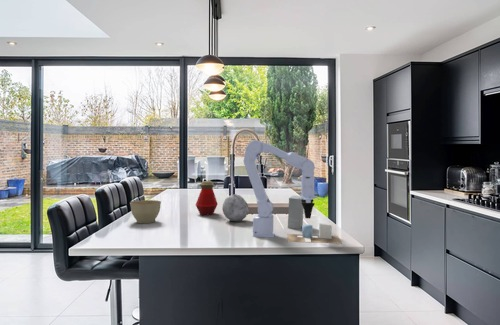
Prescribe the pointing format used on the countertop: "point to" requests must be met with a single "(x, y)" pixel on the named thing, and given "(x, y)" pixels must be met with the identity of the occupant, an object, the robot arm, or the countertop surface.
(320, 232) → the grey block
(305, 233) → the blue cylinder
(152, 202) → the planter bowl
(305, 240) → the letter T
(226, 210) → the decorative orb
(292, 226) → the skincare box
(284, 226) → the countertop surface
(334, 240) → the board
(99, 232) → the countertop surface
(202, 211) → the bottle
